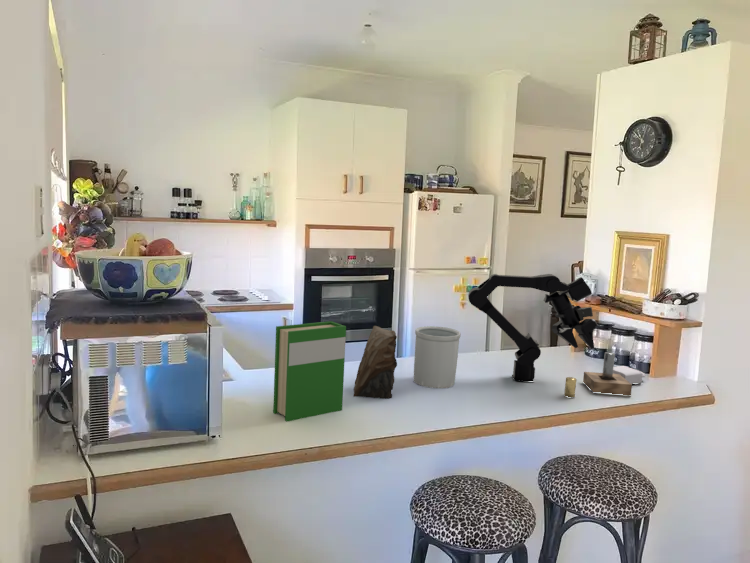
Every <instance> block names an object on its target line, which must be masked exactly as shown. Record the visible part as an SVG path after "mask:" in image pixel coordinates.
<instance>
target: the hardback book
mask: <svg viewBox="0 0 750 563" xmlns="http://www.w3.org/2000/svg"><path fill="white" fill-rule="evenodd" d="M346 335H347V326H346V325H344V324H343V325H342V324H341V323H338V322H335V321H332V320H331V321H330V320H329V321H321V322H319V321H318V322H309V323H299V324H289V325H278V326H277V325H276V327H275V347H274V378H273V379H274V380H273V407H272V409H273V410H272V413H273V414H274V415H276V414H281V415H282V416H284V421H285V422H287V423H288V422H292V421H296V420H302V419H307V418H310V417H311V418H312V417H317V416H321V415H324V414H325V415H326V414H329V413H335V412H340V411H343V398H344V396H343V395H344V380H345V379H344V376H345V357H346V338H347V336H346Z"/></svg>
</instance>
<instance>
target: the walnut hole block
mask: <svg viewBox="0 0 750 563" xmlns="http://www.w3.org/2000/svg"><path fill="white" fill-rule="evenodd" d="M602 373H603V372H593V371H583V379H582V380H583V381H582V383H583V382H584V383H585V384H586V385H587V386H588V387H589V388H590V389H591V390H592V391H593V392H601V393H612V394H623V395H631V396H632V387H633V385H632V384H631V383H629V382H628V381H627V380H626V379H625V378H623V377H622V376H621V375H620V374H613V376H612V380H602Z"/></svg>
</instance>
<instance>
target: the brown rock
mask: <svg viewBox="0 0 750 563" xmlns="http://www.w3.org/2000/svg"><path fill="white" fill-rule="evenodd" d="M396 348H397V333H396V332H395V330H391V329H386V328H385V329H384V328H382V327H380V326H377V325H373V326H372V329H371V332H370V335H369V336H368V339H367V341H366V345H365V348H364V350H363V354H362V357H361V361H360V362H359V365H358V370H357V372H356V373H357V374H356V377H355V378H356V379H355V380H354V385H353V386H354V387H353V398H354V397H356V398H357V397H358V398H371V399H383V400H387V399H388V400H389V399H393V393H392V390H393V388H394V385H395V384H394V383H395V370H396V368H397V367H398V362H397V361H398V360H397V358H396Z"/></svg>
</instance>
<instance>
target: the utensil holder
mask: <svg viewBox="0 0 750 563" xmlns="http://www.w3.org/2000/svg"><path fill="white" fill-rule="evenodd" d="M414 333H415V346H414V347H415V348H414V363H413V382H414V383H415V384H417V385H419V386H421V387H425V388H430V389H449V388H451V387H453V386H455V382H456V375H457V374H456V373H457V366H458V358H459V355H458V354H459V345H460V339H461V332H460V331H459V330H456V329H453V328H450V327H443V326H435V325H433V326H430V325H429V326H428V325H427V326H420V327H416V328H415V332H414Z"/></svg>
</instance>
